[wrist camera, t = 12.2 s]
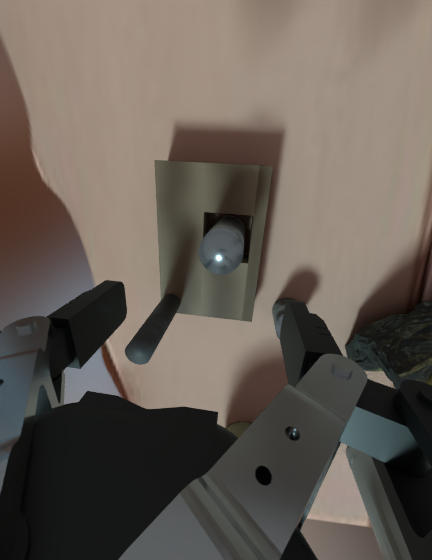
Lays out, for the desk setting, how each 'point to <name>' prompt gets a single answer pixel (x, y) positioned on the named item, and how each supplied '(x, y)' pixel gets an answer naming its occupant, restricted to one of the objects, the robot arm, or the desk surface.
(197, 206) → the hole board
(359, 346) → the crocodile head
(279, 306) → the short pin
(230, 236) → the tall pin
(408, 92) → the desk surface
